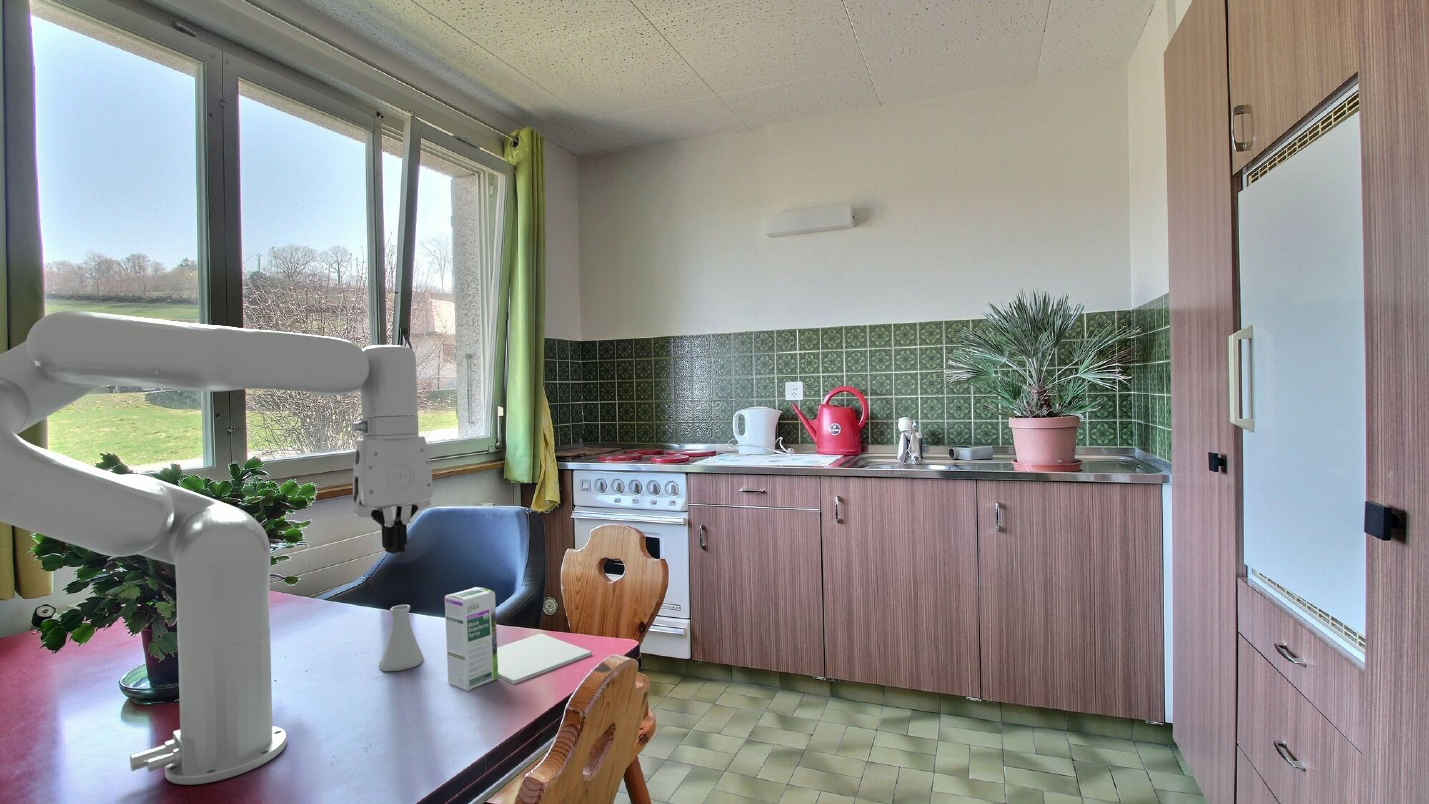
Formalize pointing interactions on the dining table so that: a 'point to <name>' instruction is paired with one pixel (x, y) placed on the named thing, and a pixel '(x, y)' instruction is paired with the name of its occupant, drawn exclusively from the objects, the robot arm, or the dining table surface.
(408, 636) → the flask
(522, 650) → the mat
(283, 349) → the robot arm
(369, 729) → the dining table surface
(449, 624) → the syrup box
